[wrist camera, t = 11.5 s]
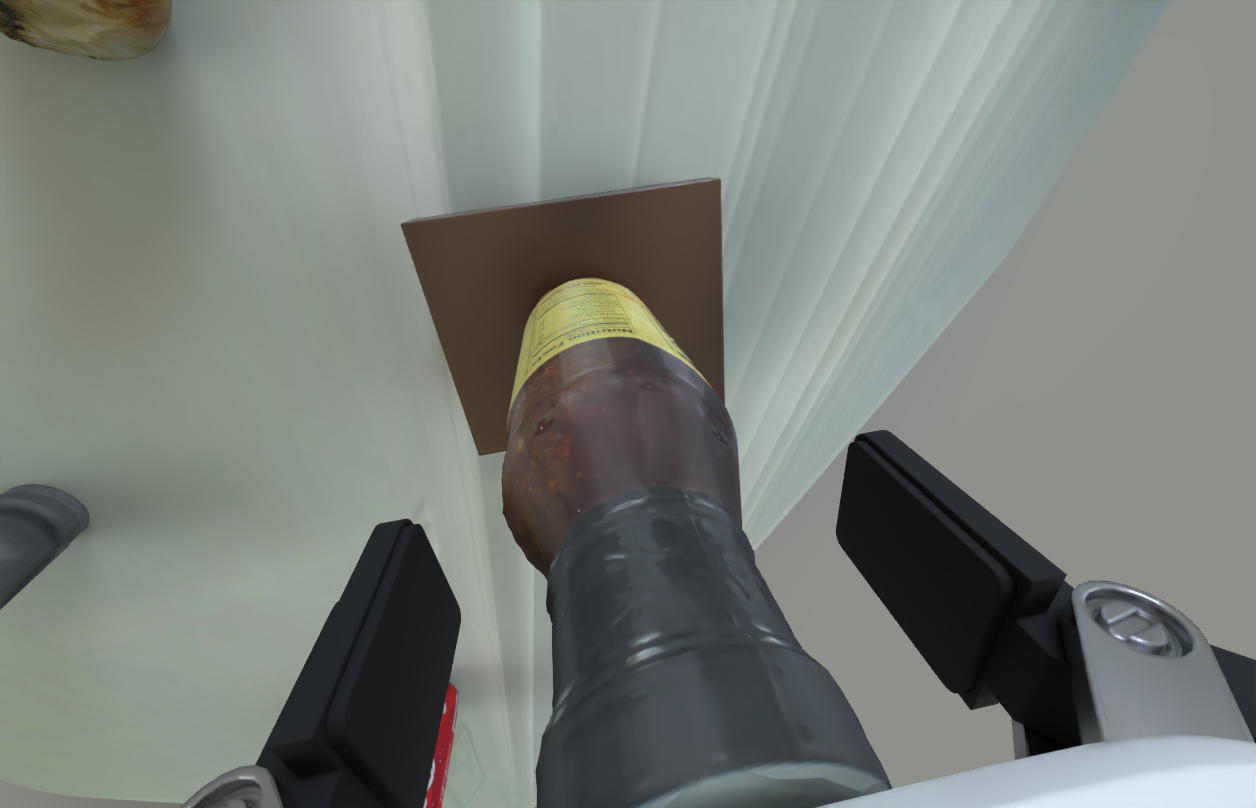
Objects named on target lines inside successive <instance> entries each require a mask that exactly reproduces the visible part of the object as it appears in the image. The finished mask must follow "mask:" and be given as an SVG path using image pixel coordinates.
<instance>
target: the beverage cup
mask: <svg viewBox="0 0 1256 808" xmlns="http://www.w3.org/2000/svg"><path fill="white" fill-rule="evenodd" d="M88 523H89V516H88V513H87V511H86V509H85V508H84V506H83V505H82V504H81V503H80V502H78V501H77V500H76V499H75V498H73V497H72V496H70V495H68V494H66V493H65V492H62V491H59V490H57V489H54V488H51V487H46V486H40V485H22V486H19V487H15V488H12V489H10V490H9V491H7V492H5V493H4V494H1V495H0V609H1V608H3V607H4V606H5V605H6V604H7V603H8V602H9V601H10V600H11V599H12V598H13V597H14V596H15V595H16V594H18V593H19V592H20V591H21V590H22V589H23V588H24V587H25V586H26V585H27V584H28V583H29V582H30V581H31V580H33V579H34V578H35V577H36V576H37V575H38V574H39V573H40V572H41V571H42V570H43V569H44V568H45V567H47V566H48V565H49V564H50V563H51V562H52V561H53V560H54V559H55V558H56V557H57V556H58V555H59V554H60V553H62V552H63V551H64V550H65V549H66V548H67V547H68V546H69V544H70V543H71V542H72V541H73V540H74V539H75V538H76V537H77V535H78V534H79V533H80V532H82V531H83V530H84V529H86V527H87V525H88Z"/></svg>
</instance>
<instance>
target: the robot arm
mask: <svg viewBox="0 0 1256 808" xmlns="http://www.w3.org/2000/svg"><path fill="white" fill-rule="evenodd" d="M836 536H837V539H838V542H839V544H840V546H841V547H842V549H843V550H844V551H845V552H846V554H847V555H848V557H849V558H850V559H851V561H852V562H853V563H854V565H855V566H856V567H857V569H858V570H859V572H860V573H861V574H862V576H863V577H864V578H865V580H866V581H867V582H868V584H869V585H870V586H871V588H872V589H873V590H874V592H875V593H876V594H877V596H878V597H879V598H880V600H881V601H882V602H883V604H884V605H885V606H886V608H887V609H888V610H889V612H890V613H891V615H892V616H893V617H894V619H895V620H896V621H897V623H898V624H899V625H900V627H901V628H902V629H903V631H904V632H905V633H906V635H907V636H908V637H909V639H910V640H911V641H912V643H913V644H914V646H915V647H916V648H917V649H918V651H919V652H920V654H921V655H922V656H923V658H924V659H925V660H926V662H927V663H928V664H929V666H930V667H931V668H932V670H933V671H934V672H935V674H936V675H937V676H938V678H939V679H940V680H941V682H942V683H943V684H944V685H945V687H946V688H947V689H949V690H950V691H951V692H953V693H958V694H959V695H960V697H961V698H962V699H963V700H964V702H965V703H966V704H967V706H968V707H969V708H970V710H973V709H977V708H981V707H986V706H990V705H995V704H998V703H1000V704H1001V705H1002V706H1003V707H1004V709H1005V710H1006V711H1007V712H1008V714H1009V715H1010V716H1011V718H1012V729H1013V741H1014V752H1015V760H1012V761H1008V762H1003V763H999V764H994V765H990V766H986V767H981V768H977V769H973V770H969V771H965V772H961V773H957V774H952V775H948V776H944V777H940V778H936V779H932V780H928V781H923V782H919V783H915V784H911V785H907V786H902V787H898V788H894V789H890V790H886V791H882V792H877V793H873V794H869V795H865V796H861V797H857V798H852V799H848V800H844V801H840V802H836V803H832V804H828V805H824V806H820V807H816V808H1256V660H1254V659H1251V658H1248V657H1245V656H1242V655H1239V654H1236V653H1233V652H1230V651H1227V650H1224V649H1221V648H1218V647H1215V646H1212V645H1209V643H1208V641H1207V639H1206V638H1205V636H1204V635H1203V633H1202V632H1201V631H1200V629H1199V628H1198V627H1197V626H1196V625H1195V624H1194V623H1193V622H1192V621H1191V620H1190V619H1189V618H1187V617H1186V616H1185V615H1184V614H1183V613H1181V612H1180V611H1179V610H1177V609H1176V608H1174V607H1173V606H1171V605H1170V604H1168V603H1166V602H1165V601H1163V600H1161V599H1159V598H1157V597H1155V596H1153V595H1151V594H1149V593H1147V592H1145V591H1142V590H1139V589H1137V588H1134V587H1130V586H1128V585H1125V584H1120V583H1115V582H1110V581H1088V582H1085V583H1082V584H1079V585H1078V586H1077V587H1076V588H1075V589H1073V587H1071V586H1070V585H1069V584H1068V583H1066V582H1065V581H1064V579H1065V577H1066V575H1067V574H1065V573H1064V572H1063V571H1062V570H1060V569H1059V568H1058V567H1057V566H1055V565H1054V564H1053V563H1052V562H1050V561H1049V560H1048V559H1046V557H1044V556H1043V555H1042V554H1041V553H1039V552H1038V551H1037V550H1036V549H1034V548H1033V547H1032V546H1030V545H1029V544H1028V543H1027V542H1026V541H1024V540H1023V539H1022V538H1021V537H1019V536H1018V535H1017V534H1016V533H1015V532H1013V531H1012V530H1011V529H1010V528H1008V527H1007V526H1006V525H1005V524H1003V523H1002V522H1001V521H1000V520H999V519H997V518H996V517H995V516H994V515H992V514H991V513H990V512H989V511H987V510H986V509H985V508H984V507H982V506H981V505H980V504H979V503H977V502H976V501H975V500H974V499H972V498H971V497H970V496H969V495H967V494H966V493H965V492H964V491H963V490H961V489H960V488H959V487H958V486H956V485H955V484H954V483H952V481H950V480H949V479H948V478H947V477H945V476H944V475H943V474H942V473H940V472H939V471H938V470H936V469H935V468H934V467H933V466H932V465H930V464H929V463H928V462H927V461H925V460H924V459H923V458H922V457H921V456H919V455H918V454H917V453H916V452H914V451H913V450H912V449H911V448H909V447H908V446H907V445H906V444H904V443H903V442H902V441H901V440H899V439H898V438H897V437H896V436H894V435H893V434H892V433H891V432H889V431H887V430H879V431H874V432H869V433H863V434H859V435H857V436H856V438H855V440H854V442H852V443H850V445H849V447H848V453H847V460H846V466H845V473H844V480H843V486H842V493H841V499H840V506H839V512H838V519H837V526H836ZM460 623H461V612H460V608H459V605H458V603H457V601H456V598H455V596H454V594H453V592H452V590H451V588H450V585H449V583H448V581H447V579H446V577H445V575H444V573H443V570H442V568H441V566H440V564H439V562H438V560H437V558H436V555H435V553H434V551H433V549H432V547H431V545H430V543H429V540H428V538H427V536H426V534H425V532H424V530H423V528H422V526H421V525H420V524H413V523H412V521H411V520H409V519H402V520H397V521H391V522H386V523H381V524H378V525H377V526H376V527H375V528H374V530H373V532H372V534H371V536H370V538H369V540H368V542H367V544H366V546H365V548H364V551H363V553H362V555H361V557H360V559H359V561H358V563H357V565H356V567H355V569H354V571H353V573H352V575H351V577H350V579H349V581H348V584H347V586H346V588H345V590H344V592H343V594H342V596H341V598H340V600H339V601H338V602H337V603H336V604H335V606H334V607H333V609H332V610H331V612H330V614H329V616H328V618H327V620H326V622H325V624H324V626H323V629H322V631H321V633H320V635H319V637H318V639H317V641H316V643H315V645H314V647H313V649H312V651H311V653H310V655H309V657H308V659H307V661H306V663H305V665H304V667H303V669H302V671H301V673H300V675H299V677H298V679H297V681H296V683H295V685H294V687H293V689H292V692H291V694H290V696H289V698H288V700H287V702H286V704H285V706H284V708H283V710H282V712H281V714H280V716H279V718H278V720H277V722H276V724H275V726H274V728H273V730H272V732H271V734H270V736H269V738H268V740H267V742H266V744H265V746H264V748H263V750H262V752H261V755H260V757H259V759H258V761H257V763H256V765H251V766H243V767H238V768H236V769H234V770H231V771H229V772H227V773H224V774H222V775H220V776H219V777H217V778H216V779H214V780H213V781H211V782H210V783H208V784H207V785H205V786H204V787H202V788H201V789H200V790H199V791H197V792H196V793H195V794H194V795H193V796H192V797H191V798H190V799H188V800H187V801H186V802H185V803H184V804H183V805H182V806H181V807H180V808H424V804H425V799H426V794H427V789H428V784H429V779H430V774H431V769H432V764H433V759H434V754H435V749H436V744H437V739H438V734H439V729H440V724H441V719H442V714H443V709H444V704H445V699H446V694H447V689H448V684H449V679H450V674H451V669H452V664H453V659H454V654H455V649H456V644H457V639H458V634H459V629H460Z"/></svg>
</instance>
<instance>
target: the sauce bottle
mask: <svg viewBox="0 0 1256 808" xmlns="http://www.w3.org/2000/svg"><path fill="white" fill-rule="evenodd" d="M506 435H507V436H508V437H509V439H508V445H507V452H506V454H505V459H504V463H503V468H502V497H503V514H504V516H505V518H506V521H507V524H508V527H509V528H510V530H511V531H512V534H513V537H514V539H515V541H516V543H517V544H518V545H519V546H520V548H521V549H522V551H523V552H524V554H525V556H526V558H527V560H528V561H529V562H530V563H531V564H532V565H533V566H534V567H535V568H536V569H538V570H539V571H540V572H541V573H542V574H544V576H545V578H546V579H547V581H548V583H547V599H546V606H547V612H548V613H549V615H550V618H551V622H552V659H553V691H554V692H553V702H552V706H553V714H552V716H551V719H550V721H549V723H548V725H547V727H546V729H545V732H544V734H543V736H542V742H541V750H540V755H539V759H538V763H537V767H536V783H537V808H816V807H820V806H824V805H828V804H832V803H836V802H840V801H844V800H848V799H852V798H857V797H861V796H865V795H869V794H873V793H877V792H882V791H886V790H890V789H892V786H891V784H890V782H889V780H888V777H887V775H886V773H885V771H884V769H883V766H882V764H881V763H880V761H879V759H878V757H877V756H876V754H875V752H874V750H873V748H872V747H871V745H870V743H869V741H868V740H867V738H866V735H865V733H864V731H863V728H862V726H861V724H860V722H859V720H858V718H857V716H856V714H855V713H854V711H853V709H852V707H851V706H850V704H849V702H848V700H847V699H846V697H845V695H844V694H843V692H842V690H841V689H840V687H839V686H838V684H837V683H836V682H835V680H834V679H833V677H832V676H831V674H830V673H829V671H828V670H827V669H825V668H824V667H823V666H822V665H821V664H819V663H818V662H817V661H816V660H814V659H813V658H812V657H811V656H809V654H808V653H806V652H805V651H804V650H803V649H802V647H801V646H800V644H799V642H798V641H797V640H796V638H795V637H794V635H793V632H792V630H791V628H790V626H789V625H788V623H787V621H786V620H785V617H784V615H783V613H782V611H781V609H780V608H779V606H778V604H777V602H776V601H775V599H774V597H773V595H772V594H771V592H770V590H769V588H768V586H767V584H766V582H765V580H764V579H763V577H762V576H761V573H760V572H759V570H758V568H757V567H756V565H755V555H754V551H753V549H752V547H751V545H750V543H749V540H748V538H747V536H746V534H745V533H744V531H743V530H742V515H741V497H740V479H739V461H738V446H737V438H736V433H735V429H734V426H733V423H732V420H731V418H730V415H729V413H728V411H727V409H726V407H725V405H724V404H723V402H722V401H721V399H720V398H719V396H718V395H717V393H716V392H715V391H714V389H713V388H712V387H711V386H710V385H709V383H708V382H707V381H706V380H705V378H704V377H703V375H702V374H701V373H700V372H699V371H698V370H697V368H696V367H695V366H694V364H693V363H692V362H691V361H690V360H689V358H688V357H687V356H686V354H685V353H684V352H683V350H682V349H681V348H680V347H679V345H678V344H677V343H676V342H675V341H674V340H673V338H672V337H671V336H670V335H669V334H668V333H667V332H666V330H665V329H664V327H663V326H662V325H661V324H660V323H659V321H658V320H657V319H656V318H655V317H654V315H653V314H652V313H651V312H650V310H649V309H648V308H647V307H646V306H645V304H644V303H643V302H642V301H641V300H640V299H639V298H638V297H637V296H636V295H635V294H634V293H632V292H631V291H630V290H629V289H627V288H625V287H623V286H621V285H619V284H616V283H613V282H610V281H606V280H603V279H600V278H596V277H587V278H581V279H575V280H573V281H569V282H566V283H564V284H562V285H560V286H558V287H557V288H555V289H553V290H550V291H548V292H547V293H546V294H545V295H543V296H542V297H541V298H540V299H539V302H538V304H537V305H536V307H535V308H534V309H533V311H532V313H531V315H530V316H529V319H528V321H527V324H526V327H525V330H524V335H523V341H522V346H521V351H520V355H519V361H518V366H517V371H516V377H515V382H514V388H513V393H512V398H511V403H510V409H509V414H508V420H507V428H506Z"/></svg>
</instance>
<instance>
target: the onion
mask: <svg viewBox="0 0 1256 808" xmlns="http://www.w3.org/2000/svg"><path fill="white" fill-rule="evenodd" d="M171 10H172V0H0V32H1V33H3V34H4V35H6V36H8V37H9V38H11V39H14V40H16V41H21V42H24V43H26V44H29V45H31V46H33V47H40V48H44V49H48V50H53V51H57V52H61V53H65V54H70V55H74V56H79V57H84V58H90V59H97V60H105V61H116V60H125V59H132V58H135V57H138V56H140V55H142V54H144V53H146V52H148V51H149V50H151V49H152V48H153V47H154V46H155V45H156V44H157V43H158V42H159V41H160V40H161V39H162V38H163V37H164V35H165V32H166V30H167V28H168V25H169V22H170V19H171Z"/></svg>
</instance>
